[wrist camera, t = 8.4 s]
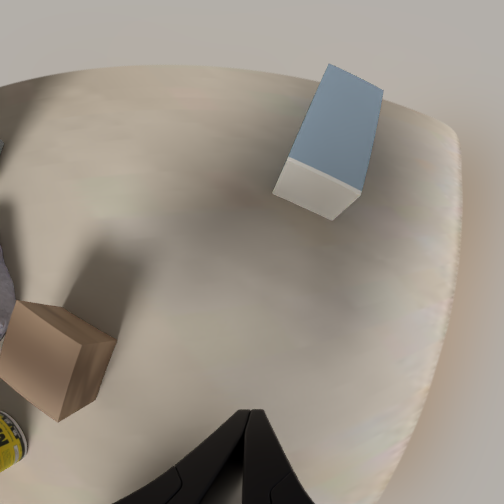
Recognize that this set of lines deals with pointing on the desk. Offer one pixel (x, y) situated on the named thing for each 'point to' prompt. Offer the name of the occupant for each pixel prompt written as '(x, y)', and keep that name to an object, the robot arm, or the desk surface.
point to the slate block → (332, 145)
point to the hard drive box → (1, 145)
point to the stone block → (5, 296)
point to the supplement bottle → (10, 442)
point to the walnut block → (54, 358)
